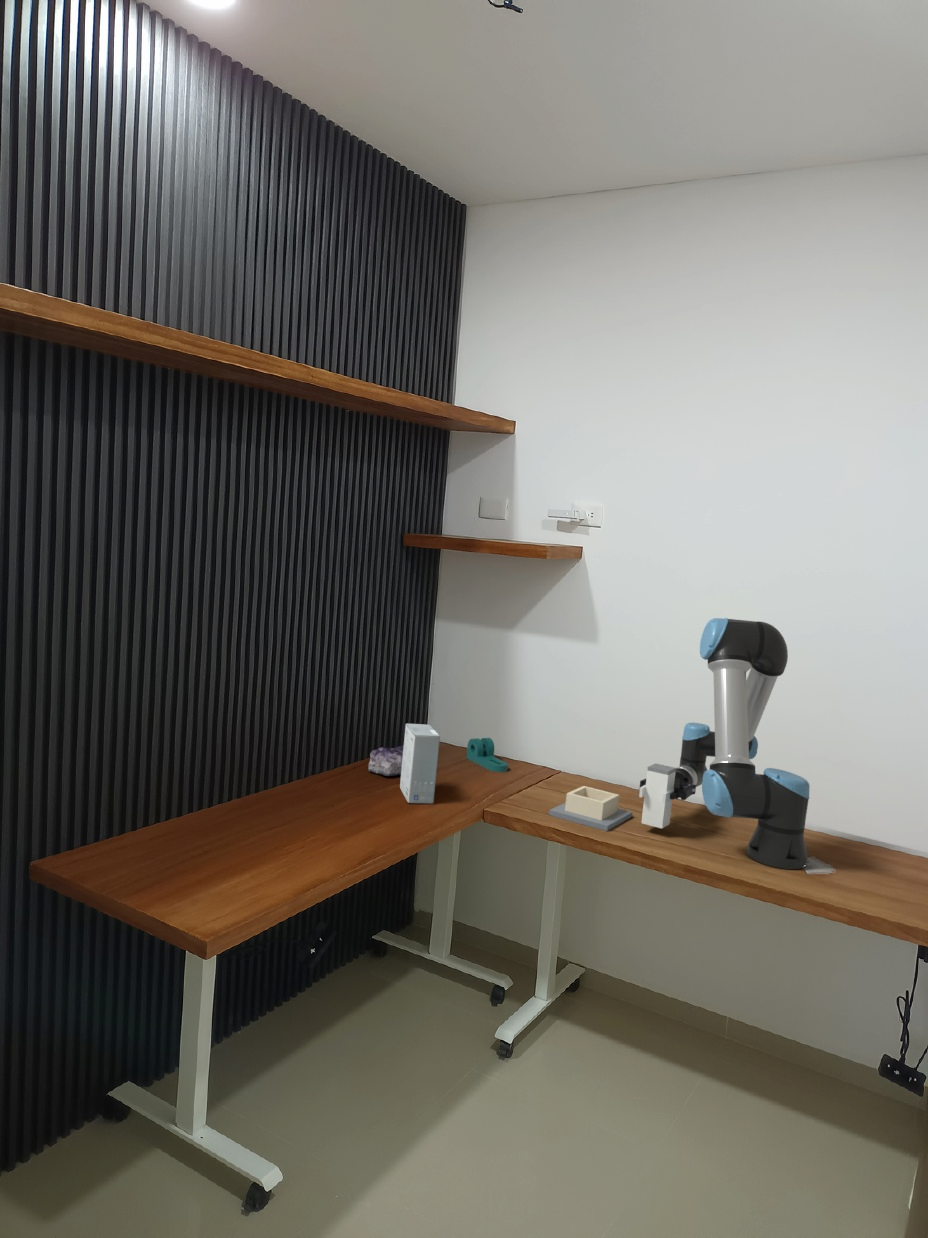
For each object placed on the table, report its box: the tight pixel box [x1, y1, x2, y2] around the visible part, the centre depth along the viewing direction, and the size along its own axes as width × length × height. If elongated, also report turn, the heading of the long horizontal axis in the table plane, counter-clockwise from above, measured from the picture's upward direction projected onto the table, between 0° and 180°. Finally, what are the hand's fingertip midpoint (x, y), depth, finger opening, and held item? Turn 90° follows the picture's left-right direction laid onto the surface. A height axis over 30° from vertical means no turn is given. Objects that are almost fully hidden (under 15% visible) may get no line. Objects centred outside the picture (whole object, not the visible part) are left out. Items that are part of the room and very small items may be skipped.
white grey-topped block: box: [641, 763, 677, 829], centre depth 249 cm, size 6×6×16 cm
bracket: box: [466, 737, 509, 773], centre depth 305 cm, size 18×7×8 cm, turn 31°
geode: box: [368, 744, 404, 777], centre depth 286 cm, size 20×12×10 cm, turn 127°
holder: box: [548, 785, 633, 832], centre depth 259 cm, size 18×18×6 cm
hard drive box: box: [399, 723, 441, 805], centre depth 262 cm, size 16×8×20 cm, turn 14°
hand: (652, 795), depth 245 cm, fingers closed on white grey-topped block, 6 cm apart
